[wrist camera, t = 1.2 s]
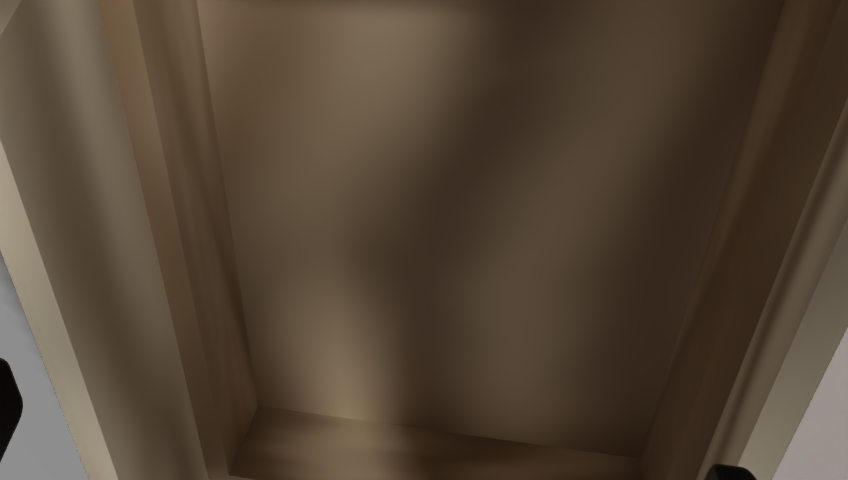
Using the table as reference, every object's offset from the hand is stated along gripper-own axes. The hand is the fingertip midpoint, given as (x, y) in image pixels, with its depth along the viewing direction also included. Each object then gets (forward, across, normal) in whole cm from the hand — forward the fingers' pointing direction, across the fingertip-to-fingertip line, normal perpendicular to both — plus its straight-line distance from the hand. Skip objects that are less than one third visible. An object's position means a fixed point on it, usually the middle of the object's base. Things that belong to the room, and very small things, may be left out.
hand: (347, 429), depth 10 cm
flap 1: (+6, +6, +6) cm, 10 cm away
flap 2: (+5, -7, +6) cm, 11 cm away
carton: (+13, -1, +6) cm, 15 cm away
